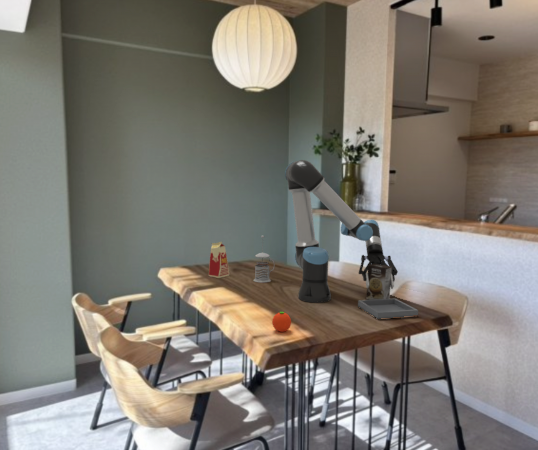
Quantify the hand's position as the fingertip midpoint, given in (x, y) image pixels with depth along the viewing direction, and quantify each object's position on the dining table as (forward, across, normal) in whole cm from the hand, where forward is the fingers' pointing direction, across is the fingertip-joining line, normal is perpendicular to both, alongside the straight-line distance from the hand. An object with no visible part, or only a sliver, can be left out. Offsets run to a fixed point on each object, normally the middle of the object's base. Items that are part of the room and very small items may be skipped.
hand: (380, 286), depth 197 cm
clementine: (+34, +45, +23) cm, 61 cm away
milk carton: (-29, +80, -40) cm, 94 cm away
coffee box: (+3, 0, -7) cm, 7 cm away
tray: (+16, 0, +5) cm, 16 cm away
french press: (-22, +54, -33) cm, 67 cm away
